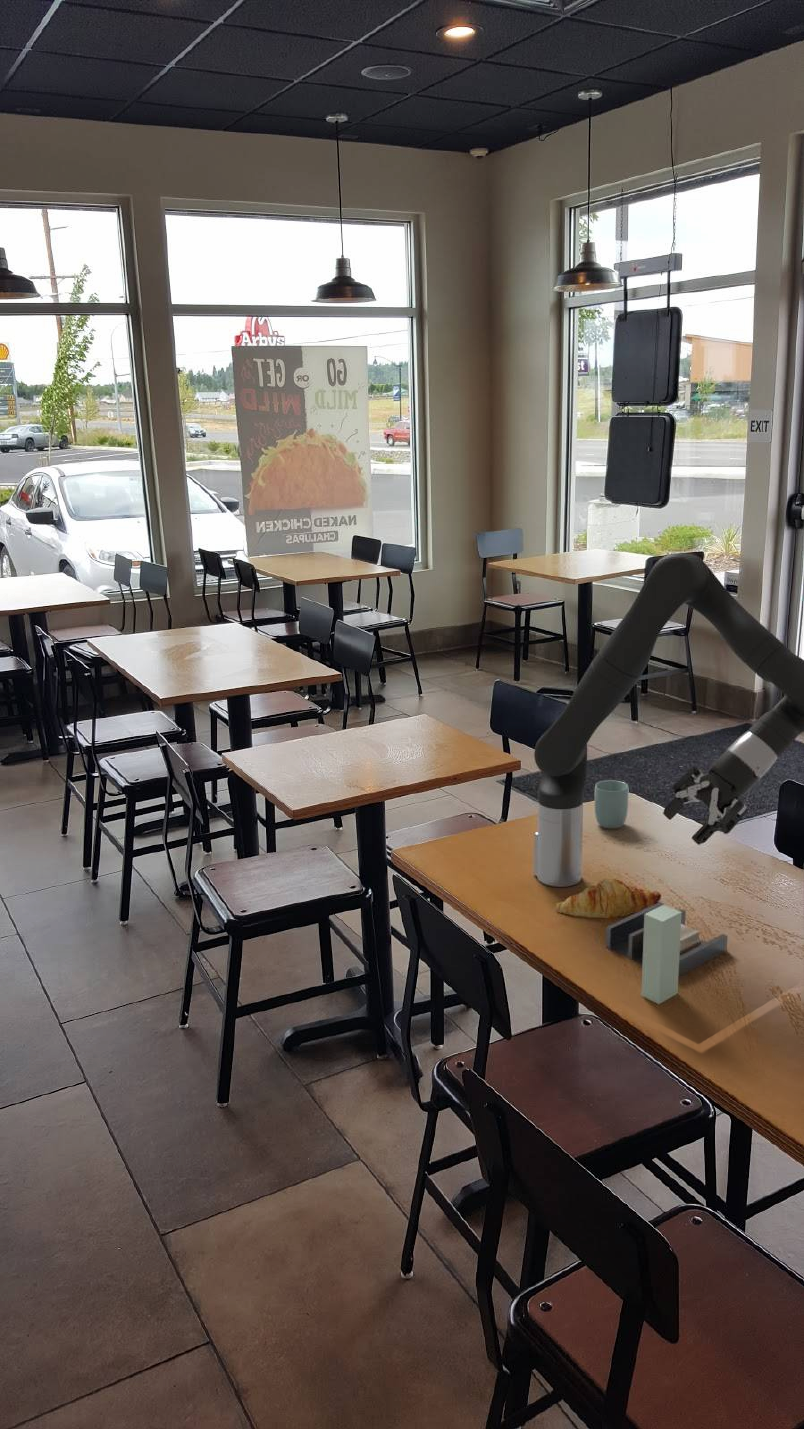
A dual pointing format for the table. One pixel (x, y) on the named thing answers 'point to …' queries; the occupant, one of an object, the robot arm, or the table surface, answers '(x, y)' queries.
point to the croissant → (608, 900)
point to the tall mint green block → (661, 954)
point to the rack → (630, 937)
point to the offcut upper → (688, 937)
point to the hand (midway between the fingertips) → (680, 829)
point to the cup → (611, 803)
